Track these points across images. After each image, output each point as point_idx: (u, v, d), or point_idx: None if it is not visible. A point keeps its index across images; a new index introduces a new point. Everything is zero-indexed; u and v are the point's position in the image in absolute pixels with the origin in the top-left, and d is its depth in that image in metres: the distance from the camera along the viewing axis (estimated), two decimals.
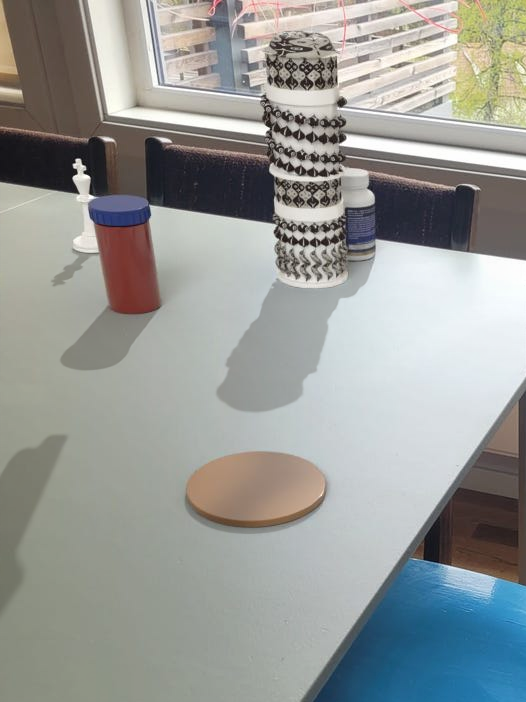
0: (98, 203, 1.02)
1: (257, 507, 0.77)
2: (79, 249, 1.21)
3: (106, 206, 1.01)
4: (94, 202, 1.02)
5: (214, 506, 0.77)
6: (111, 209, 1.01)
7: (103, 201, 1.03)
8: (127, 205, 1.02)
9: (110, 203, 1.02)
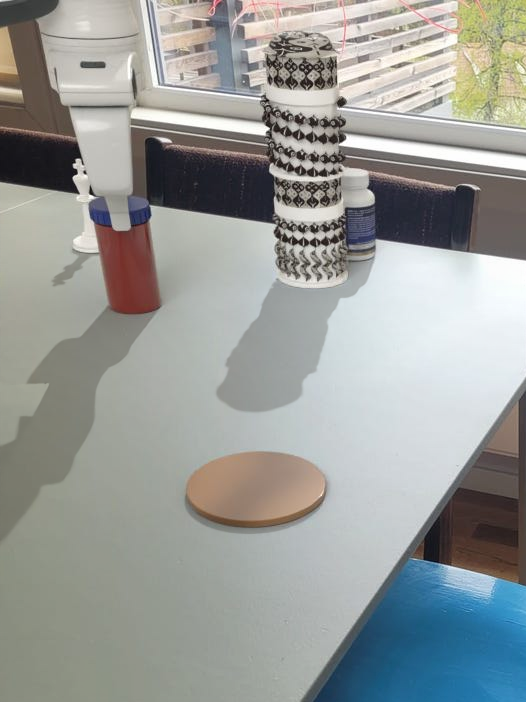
0: (98, 203, 1.02)
1: (257, 507, 0.77)
2: (79, 249, 1.21)
3: (106, 206, 1.01)
4: (94, 202, 1.02)
5: (214, 506, 0.77)
6: None
7: (103, 201, 1.03)
8: None
9: None
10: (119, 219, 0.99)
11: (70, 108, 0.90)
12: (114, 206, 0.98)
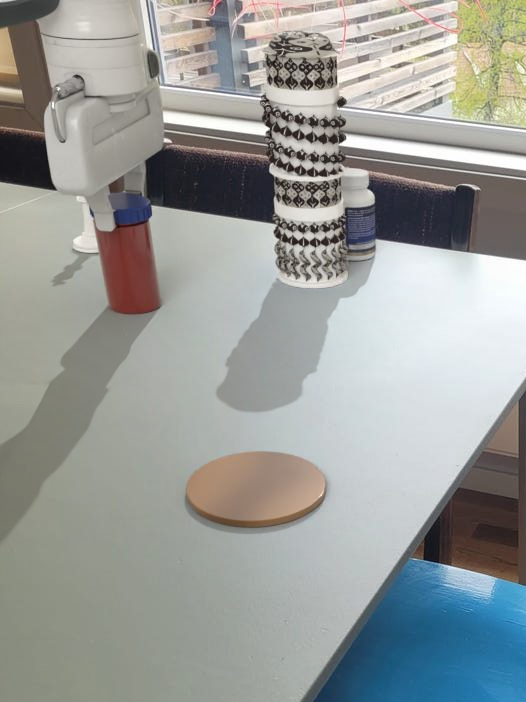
0: (138, 203, 1.02)
1: (257, 507, 0.77)
2: (79, 249, 1.21)
3: (135, 199, 1.03)
4: (140, 204, 1.02)
5: (214, 506, 0.77)
6: (134, 196, 1.04)
7: (131, 204, 1.02)
8: (115, 197, 1.03)
9: (127, 201, 1.02)
10: None
11: (154, 78, 1.02)
12: None
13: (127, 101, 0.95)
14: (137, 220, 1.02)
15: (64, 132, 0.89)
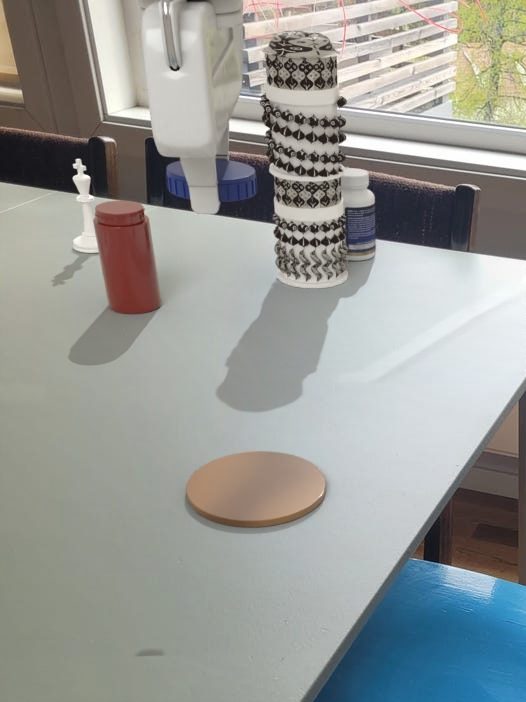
0: (240, 170, 0.69)
1: (257, 507, 0.77)
2: (79, 249, 1.21)
3: (230, 166, 0.70)
4: (245, 172, 0.69)
5: (214, 506, 0.77)
6: (224, 162, 0.71)
7: (232, 172, 0.68)
8: None
9: (222, 169, 0.69)
10: None
11: None
12: None
13: (237, 10, 0.62)
14: (245, 195, 0.68)
15: (179, 52, 0.56)
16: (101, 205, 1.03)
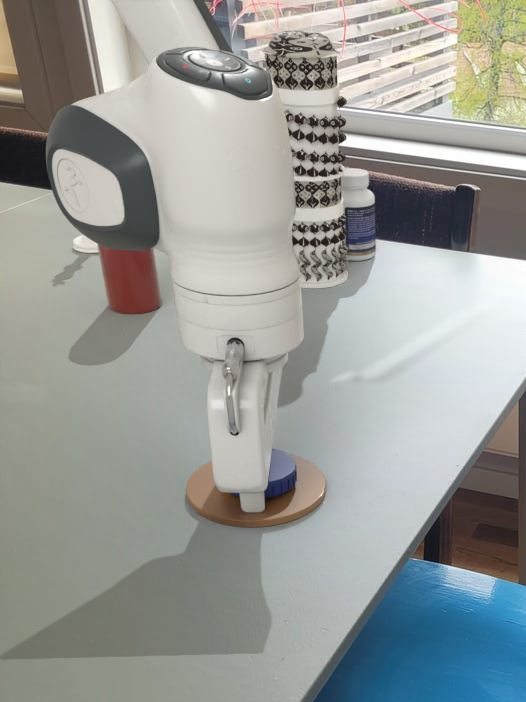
0: (282, 465, 0.79)
1: None
2: (79, 249, 1.21)
3: (273, 458, 0.80)
4: (287, 467, 0.79)
5: (214, 506, 0.77)
6: None
7: (275, 469, 0.78)
8: None
9: None
10: None
11: None
12: None
13: (284, 354, 0.72)
14: (287, 489, 0.78)
15: (239, 423, 0.66)
16: None
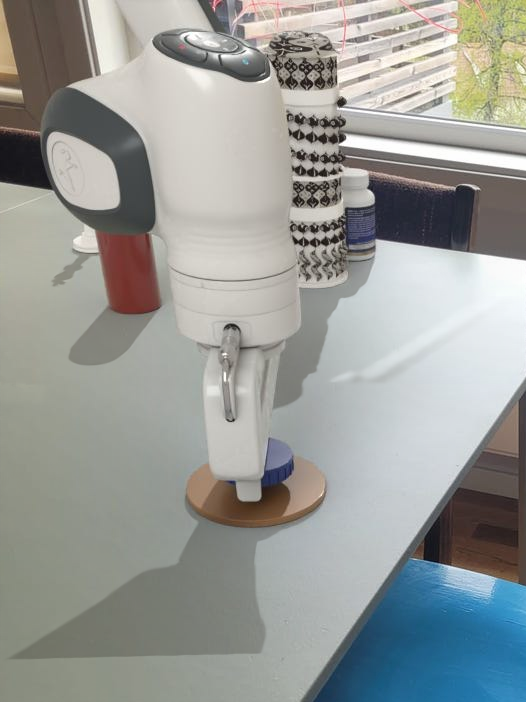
0: (279, 454, 0.78)
1: (257, 507, 0.77)
2: (79, 249, 1.21)
3: (270, 447, 0.79)
4: (284, 456, 0.78)
5: (214, 506, 0.77)
6: None
7: (272, 457, 0.78)
8: None
9: None
10: None
11: None
12: None
13: (281, 341, 0.72)
14: (284, 478, 0.78)
15: (235, 409, 0.65)
16: None
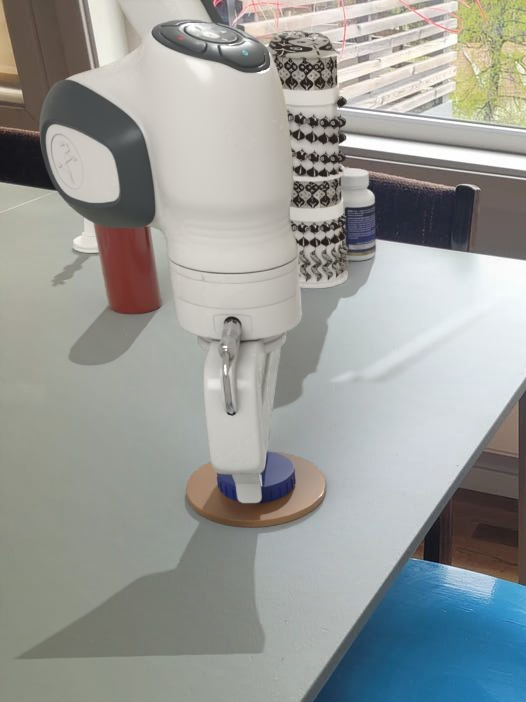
0: (280, 468, 0.79)
1: (257, 507, 0.77)
2: (79, 249, 1.21)
3: (271, 461, 0.80)
4: (285, 471, 0.79)
5: (214, 506, 0.77)
6: (266, 455, 0.81)
7: (273, 472, 0.79)
8: None
9: (265, 468, 0.79)
10: None
11: None
12: None
13: (281, 334, 0.71)
14: (286, 492, 0.79)
15: (236, 402, 0.65)
16: None
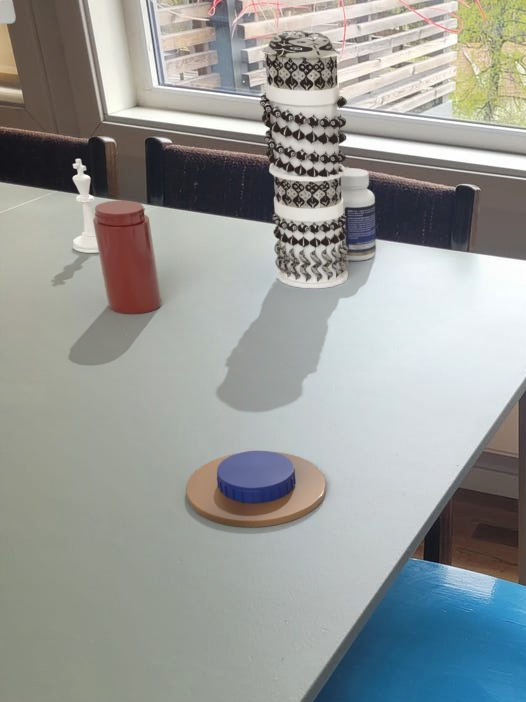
0: (280, 468, 0.79)
1: (257, 507, 0.77)
2: (79, 249, 1.21)
3: (271, 461, 0.80)
4: (285, 471, 0.79)
5: (214, 506, 0.77)
6: (266, 455, 0.81)
7: (273, 472, 0.79)
8: (245, 462, 0.80)
9: (265, 468, 0.79)
10: None
11: None
12: None
13: None
14: (286, 492, 0.79)
15: None
16: (101, 205, 1.03)
